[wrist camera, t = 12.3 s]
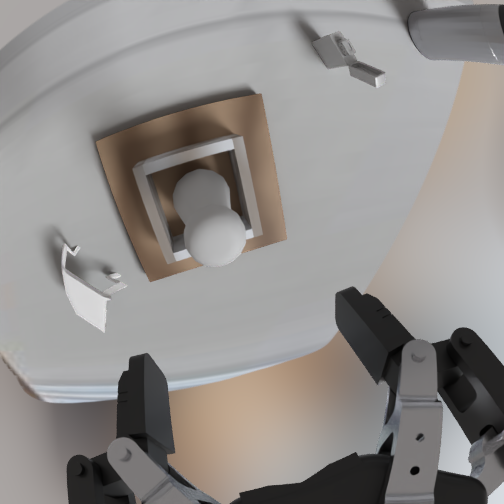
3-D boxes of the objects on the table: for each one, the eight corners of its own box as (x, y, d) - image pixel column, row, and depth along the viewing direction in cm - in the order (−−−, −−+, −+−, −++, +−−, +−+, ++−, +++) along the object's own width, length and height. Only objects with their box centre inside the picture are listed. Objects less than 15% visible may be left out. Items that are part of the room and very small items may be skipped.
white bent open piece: (143, 289, 34) (141, 313, 30) (103, 317, 35) (98, 341, 30) (84, 222, 28) (71, 240, 24) (46, 259, 28) (32, 279, 24)
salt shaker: (162, 183, 27) (155, 232, 16) (209, 154, 27) (234, 183, 16) (191, 225, 30) (204, 294, 19) (235, 199, 30) (273, 254, 19)
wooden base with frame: (257, 94, 26) (274, 90, 22) (282, 234, 36) (299, 254, 31) (99, 140, 24) (83, 145, 20) (150, 275, 33) (148, 301, 29)
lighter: (310, 42, 24) (348, 27, 18) (321, 37, 24) (359, 23, 18) (339, 89, 28) (380, 88, 21) (348, 84, 28) (390, 82, 21)
